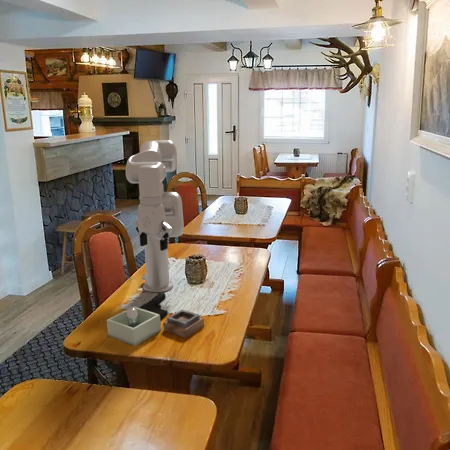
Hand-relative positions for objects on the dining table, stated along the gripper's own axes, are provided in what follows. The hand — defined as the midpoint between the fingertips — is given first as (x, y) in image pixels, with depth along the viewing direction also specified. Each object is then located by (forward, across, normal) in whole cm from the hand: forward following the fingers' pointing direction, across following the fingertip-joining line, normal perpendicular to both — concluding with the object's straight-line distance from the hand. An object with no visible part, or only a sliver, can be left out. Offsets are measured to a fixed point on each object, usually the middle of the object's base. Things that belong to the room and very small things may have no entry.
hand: (153, 247), depth 167 cm
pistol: (+27, -4, +4) cm, 28 cm away
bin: (+26, +3, -15) cm, 30 cm away
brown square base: (+26, +15, -3) cm, 30 cm away
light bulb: (+25, +3, -14) cm, 29 cm away
